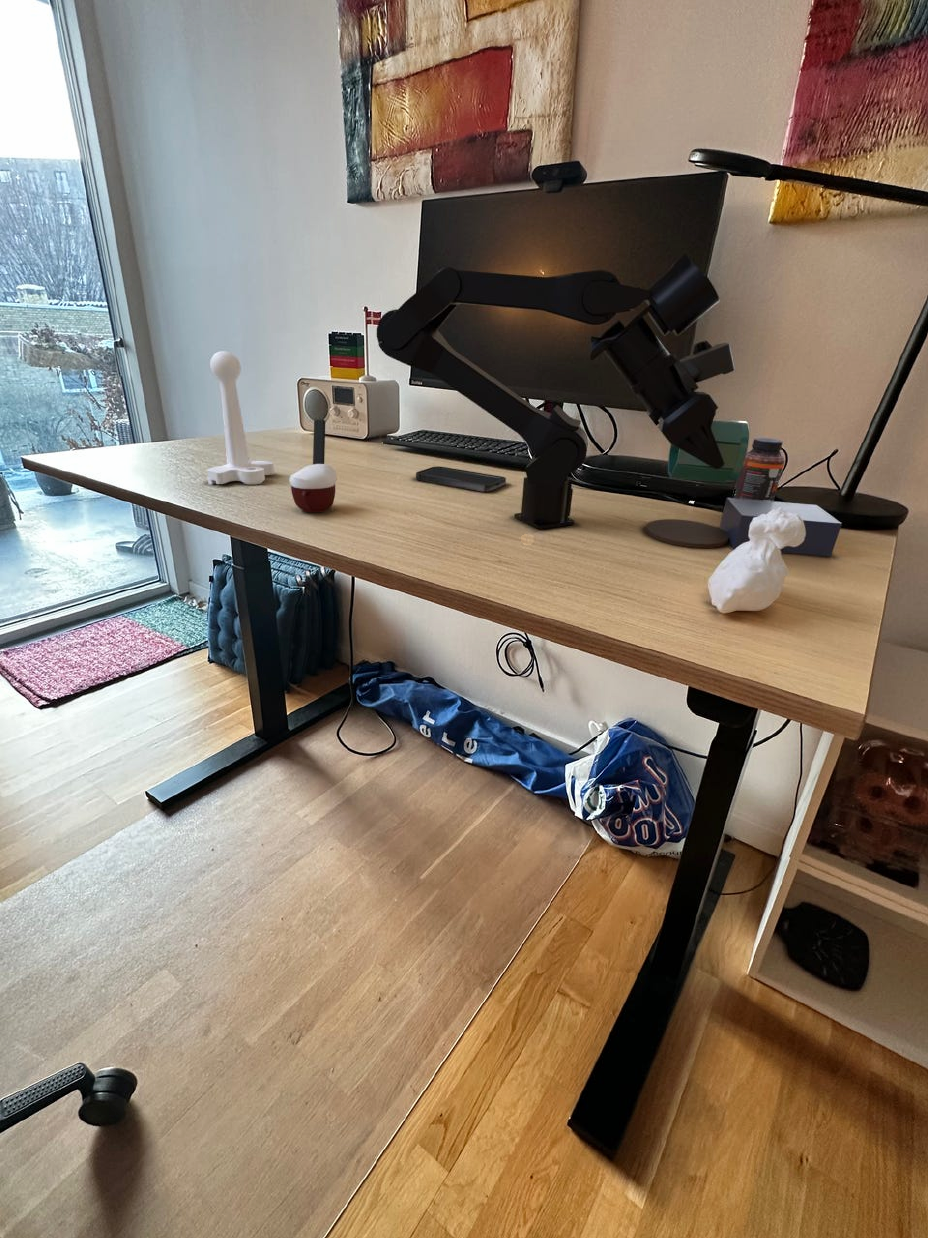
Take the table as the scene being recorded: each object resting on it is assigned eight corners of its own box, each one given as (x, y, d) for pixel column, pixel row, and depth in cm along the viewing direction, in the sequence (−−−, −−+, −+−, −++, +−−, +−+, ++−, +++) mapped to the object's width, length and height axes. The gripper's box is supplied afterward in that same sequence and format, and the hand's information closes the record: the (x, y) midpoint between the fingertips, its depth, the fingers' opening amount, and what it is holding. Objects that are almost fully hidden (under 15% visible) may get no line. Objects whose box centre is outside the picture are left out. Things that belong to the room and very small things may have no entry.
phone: (436, 465, 109) (508, 477, 103) (436, 471, 110) (507, 483, 103) (413, 473, 103) (487, 485, 97) (413, 479, 104) (487, 492, 97)
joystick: (260, 471, 105) (245, 350, 96) (287, 478, 101) (274, 352, 92) (203, 482, 97) (181, 350, 88) (230, 490, 93) (210, 352, 84)
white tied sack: (733, 647, 57) (844, 576, 50) (679, 590, 57) (783, 513, 50) (741, 602, 66) (835, 538, 60) (694, 554, 66) (783, 485, 60)
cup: (672, 481, 75) (686, 420, 71) (665, 469, 81) (677, 412, 78) (737, 488, 74) (754, 425, 70) (724, 475, 80) (739, 417, 77)
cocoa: (312, 520, 80) (305, 430, 75) (278, 513, 83) (268, 425, 77) (354, 505, 88) (350, 422, 83) (321, 498, 90) (315, 418, 85)
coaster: (689, 552, 74) (690, 548, 74) (628, 528, 83) (629, 524, 82) (745, 541, 79) (746, 537, 79) (682, 519, 88) (683, 515, 87)
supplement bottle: (774, 519, 90) (795, 444, 84) (733, 515, 91) (752, 441, 85) (764, 509, 95) (783, 437, 90) (725, 505, 96) (743, 435, 91)
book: (733, 548, 77) (741, 515, 75) (719, 528, 85) (726, 497, 82) (831, 557, 75) (842, 523, 73) (807, 535, 83) (817, 504, 81)
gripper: (718, 312, 61) (797, 430, 65) (689, 317, 78) (753, 410, 81) (629, 387, 66) (706, 493, 69) (619, 376, 82) (682, 462, 86)
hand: (714, 460), depth 76 cm, fingers closed on cup, 7 cm apart
